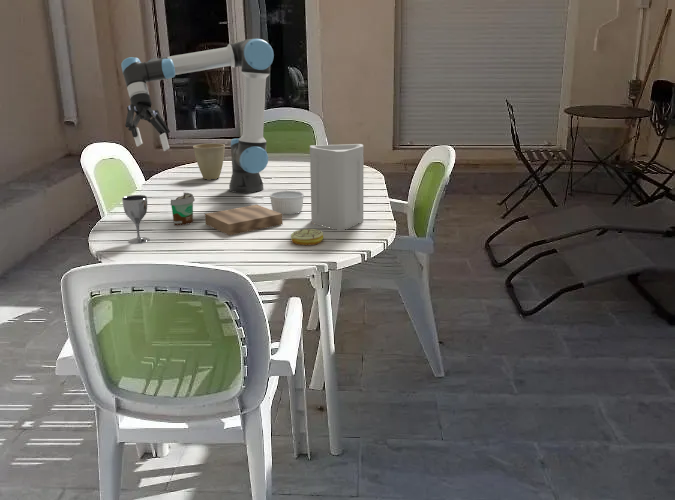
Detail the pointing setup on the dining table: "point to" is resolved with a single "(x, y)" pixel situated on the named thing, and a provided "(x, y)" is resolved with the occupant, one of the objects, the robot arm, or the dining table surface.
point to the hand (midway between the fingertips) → (153, 147)
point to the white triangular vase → (337, 185)
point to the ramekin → (287, 201)
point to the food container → (183, 209)
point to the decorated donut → (307, 236)
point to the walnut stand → (243, 219)
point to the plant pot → (210, 159)
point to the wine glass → (136, 213)
